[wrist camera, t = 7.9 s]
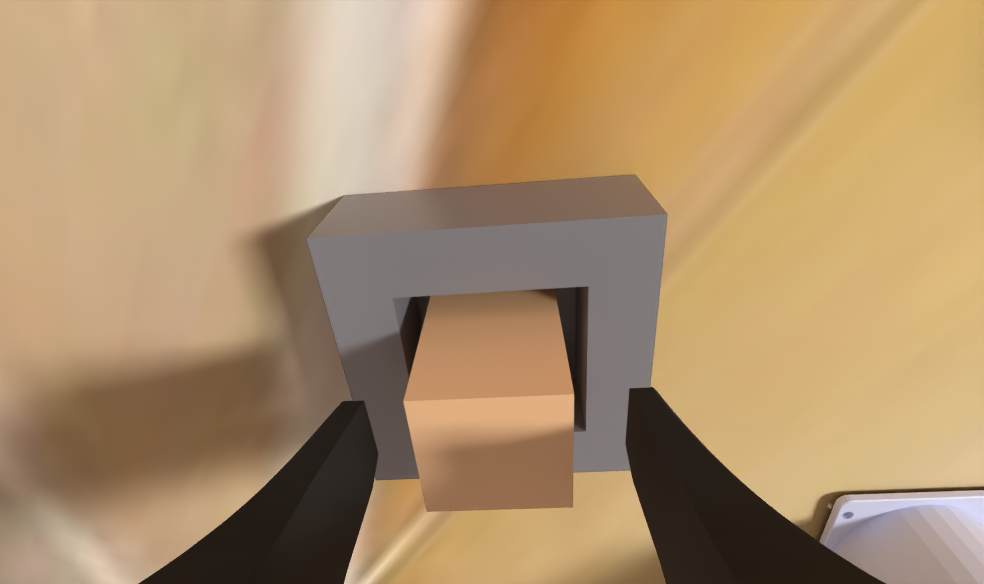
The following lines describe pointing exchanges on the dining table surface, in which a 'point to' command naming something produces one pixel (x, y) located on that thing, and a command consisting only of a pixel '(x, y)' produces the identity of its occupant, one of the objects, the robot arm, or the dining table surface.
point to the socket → (497, 268)
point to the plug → (492, 403)
